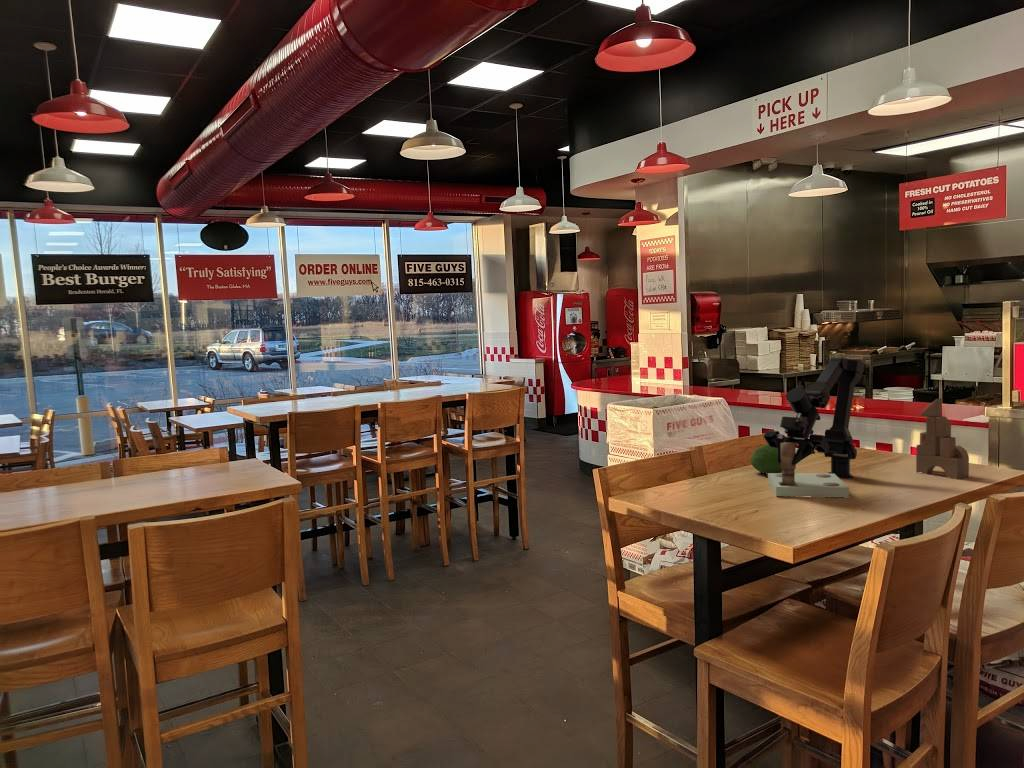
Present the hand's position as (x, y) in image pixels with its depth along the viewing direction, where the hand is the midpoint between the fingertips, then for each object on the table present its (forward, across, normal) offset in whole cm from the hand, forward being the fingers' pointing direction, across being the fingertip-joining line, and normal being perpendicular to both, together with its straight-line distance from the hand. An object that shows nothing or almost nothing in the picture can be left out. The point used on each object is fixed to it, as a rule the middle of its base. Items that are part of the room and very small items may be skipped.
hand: (785, 463), depth 216 cm
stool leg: (+4, 0, +6) cm, 7 cm away
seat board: (0, +1, +14) cm, 14 cm away
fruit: (-10, -18, +24) cm, 32 cm away
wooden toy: (-33, +22, +47) cm, 62 cm away
